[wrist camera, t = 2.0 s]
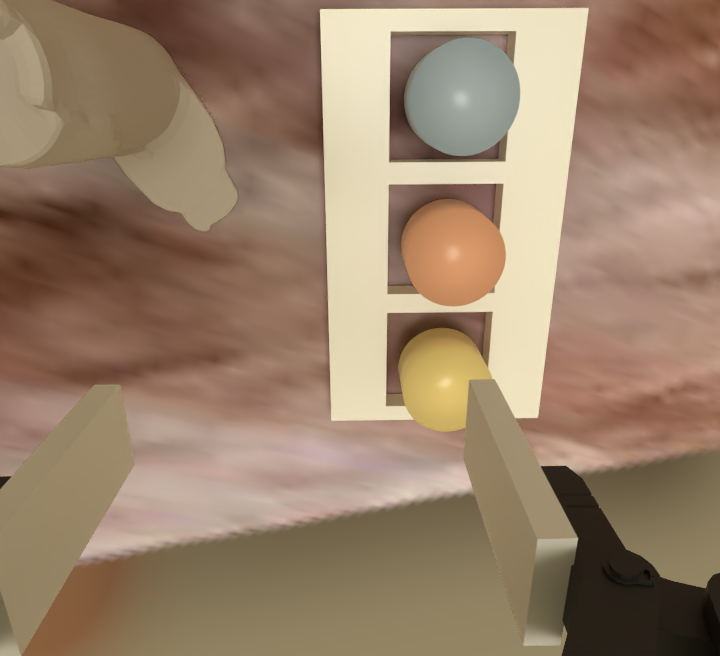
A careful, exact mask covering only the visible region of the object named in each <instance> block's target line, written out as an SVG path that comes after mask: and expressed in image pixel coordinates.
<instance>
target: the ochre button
mask: <svg viewBox="0 0 720 656" xmlns="http://www.w3.org/2000/svg"><path fill="white" fill-rule="evenodd" d="M398 369H399V376H400V382H401V387H402V393H403V398H404V403H405V406H406V409H407V410H408V412H409V414H410V415H411V416H412V418H413V419H414V420H415V421H417V422H418V423H419V424H421V425H422V426H424V427H426V428H429V429H432V430H436V431H455V430H460V429H463V428H465V427H466V416H467V401H468V387H469V380H474V379H492V376H491V373H490V371H489V369H488V367H487V365H486V364H485V362H484V360H483V358H482V356H481V354H480V352H479V350H478V348H477V346H476V345H475V343H474V342H473V341H472V340H471V339H470V338H469V337H468V336H467V335H465V334H464V333H462V332H460V331H457V330H454V329H450V328H435V329H430V330H427V331H424V332H422V333H420V334H418V335H417V336H415V337H414V338H413V339H411V340H410V341H409V343H408V344H407V345H406V346H405V348H404V349H403V351H402V353H401V356H400V359H399V366H398Z"/></svg>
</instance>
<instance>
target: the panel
mask: <svg viewBox="0 0 720 656" xmlns="http://www.w3.org/2000/svg"><path fill="white" fill-rule="evenodd" d="M588 9H589V8H475V9H320V28H321V64H322V100H323V136H324V172H325V208H326V244H327V280H328V316H329V352H330V387H331V421H344V420H414V419H413V418H412V416H411V415H410V414H409V412H408V410H407V409H406V406H405V403H404V398H403V394H386V363H387V313H423V312H486V317H485V330H484V342H483V355H482V358H483V360H484V362H485V364H486V365H487V367H488V369H489V371H490V373H491V376H492V379H495V380H496V382H497V384H498V386H499V388H500V390H501V392H502V394H503V396H504V398H505V400H506V401H507V403H508V405H509V407H510V409H511V411H512V413H513V415H514V417H515V418H538V412H539V404H540V396H541V388H542V380H543V372H544V364H545V356H546V348H547V340H548V332H549V324H550V315H551V307H552V299H553V291H554V283H555V275H556V267H557V259H558V251H559V243H560V235H561V227H562V219H563V211H564V202H565V194H566V186H567V178H568V170H569V162H570V154H571V146H572V138H573V130H574V122H575V114H576V106H577V98H578V89H579V81H580V73H581V65H582V57H583V49H584V41H585V33H586V25H587V17H588ZM505 34H508V41H507V53H506V55H507V56H508V57H509V58H510V60H511V61H512V63H513V65H514V67H515V69H516V72H517V74H518V78H519V82H520V103H519V108H518V112H517V115H516V117H515V120H514V122H513V124H512V126H511V127H510V129H509V130H508V132H507V133H506V134H505V135H504V137H503V138H502V139H501V140H500V141H499V154H498V159H398V160H389V117H390V36H391V35H505ZM392 184H496V191H495V204H494V217H493V224H494V225H495V226H496V227H497V229H498V230H499V232H500V233H501V235H502V238H503V240H504V244H505V249H506V261H505V266H504V270H503V273H502V275H501V277H500V279H499V281H498V282H497V284H496V285H495V286H494V288H493V289H492V290H491V291H490V292H489V293H488V294H486V295H485V296H484V297H482V298H481V299H479V300H477V301H475V302H473V303H470V304H467V305H463V306H454V307H452V306H443V305H439V304H436V303H433V302H431V301H429V300H428V299H426V298H425V297H423V296H422V295H421V294H420V293H419V292H418V291H417V290H416V288H415V287H414V286H387V281H388V199H389V185H392Z"/></svg>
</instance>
